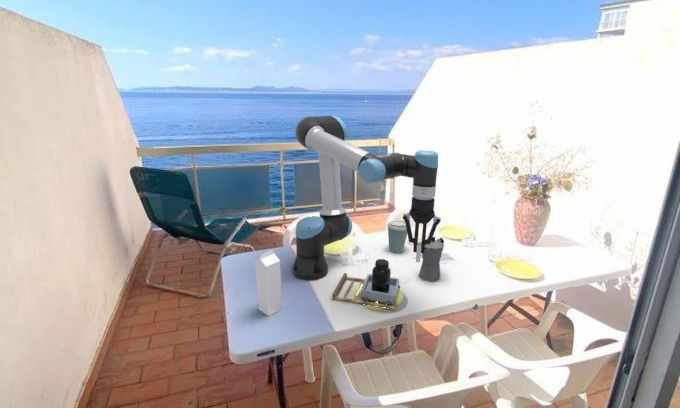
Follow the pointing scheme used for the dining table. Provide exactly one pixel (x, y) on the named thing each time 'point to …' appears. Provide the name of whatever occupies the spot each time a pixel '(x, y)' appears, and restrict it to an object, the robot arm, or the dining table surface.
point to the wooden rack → (355, 301)
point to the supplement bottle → (381, 276)
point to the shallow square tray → (380, 296)
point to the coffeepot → (431, 260)
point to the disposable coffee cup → (397, 235)
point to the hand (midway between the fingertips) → (418, 260)
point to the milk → (268, 283)
